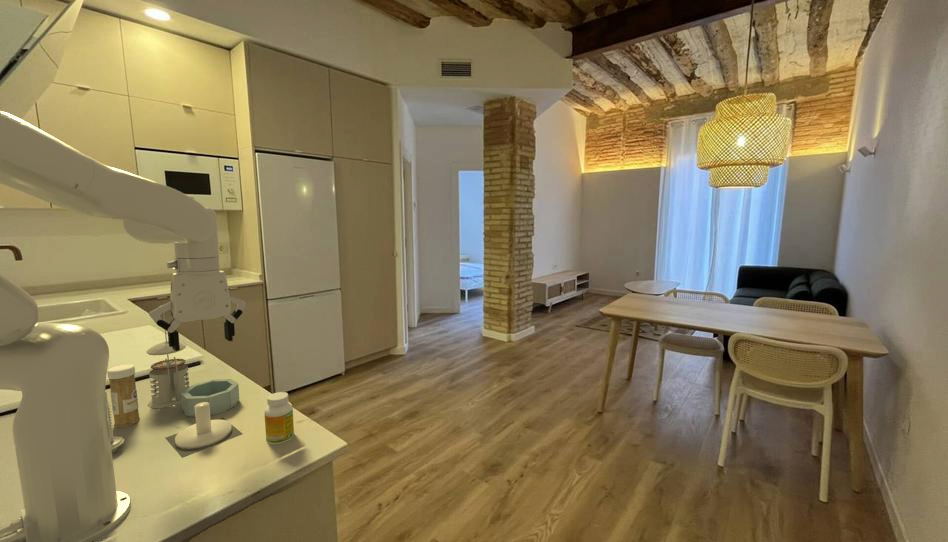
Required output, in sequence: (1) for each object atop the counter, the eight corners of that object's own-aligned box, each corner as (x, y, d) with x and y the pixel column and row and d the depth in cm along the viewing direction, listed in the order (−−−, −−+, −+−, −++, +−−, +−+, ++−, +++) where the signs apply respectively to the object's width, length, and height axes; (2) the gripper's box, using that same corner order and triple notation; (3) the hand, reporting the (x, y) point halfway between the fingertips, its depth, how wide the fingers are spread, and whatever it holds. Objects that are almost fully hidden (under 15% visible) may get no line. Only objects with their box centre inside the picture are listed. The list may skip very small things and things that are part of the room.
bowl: (193, 423, 90) (191, 402, 89) (178, 408, 96) (176, 389, 96) (245, 405, 98) (243, 387, 98) (227, 393, 105) (226, 375, 104)
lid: (184, 455, 77) (181, 421, 76) (168, 437, 83) (165, 406, 82) (239, 433, 85) (237, 403, 84) (221, 419, 91) (219, 390, 90)
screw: (128, 444, 81) (121, 456, 77) (97, 450, 79) (88, 463, 75) (121, 384, 80) (113, 394, 75) (90, 389, 77) (79, 399, 73)
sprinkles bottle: (138, 425, 89) (132, 368, 87) (111, 431, 86) (104, 372, 84) (141, 416, 93) (135, 362, 91) (116, 422, 90) (109, 366, 88)
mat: (182, 459, 77) (182, 457, 76) (165, 439, 83) (165, 437, 83) (243, 435, 85) (242, 433, 85) (223, 419, 92) (223, 417, 92)
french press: (191, 387, 108) (183, 299, 105) (200, 401, 100) (192, 306, 97) (145, 399, 101) (135, 304, 98) (150, 415, 93) (140, 312, 90)
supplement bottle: (290, 444, 82) (287, 400, 81) (262, 447, 81) (259, 402, 80) (296, 431, 87) (294, 389, 86) (270, 433, 86) (268, 391, 85)
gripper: (148, 270, 74) (156, 358, 76) (249, 264, 86) (253, 339, 88) (142, 267, 79) (149, 349, 81) (238, 262, 91) (242, 333, 93)
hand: (203, 344), depth 84 cm, fingers open, 9 cm apart
